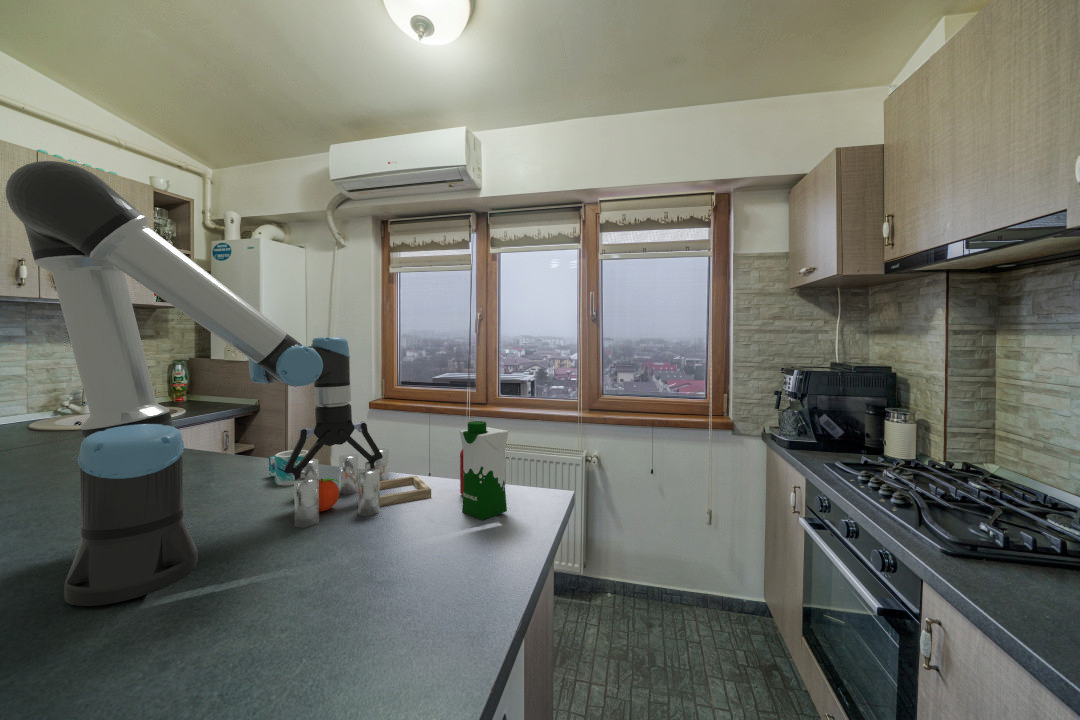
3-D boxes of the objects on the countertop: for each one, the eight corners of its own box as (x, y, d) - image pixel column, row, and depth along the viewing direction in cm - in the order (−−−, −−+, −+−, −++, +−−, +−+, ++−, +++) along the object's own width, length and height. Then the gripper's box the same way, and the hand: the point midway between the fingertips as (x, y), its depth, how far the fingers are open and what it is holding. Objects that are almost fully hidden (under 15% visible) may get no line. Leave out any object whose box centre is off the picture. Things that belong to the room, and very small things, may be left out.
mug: (287, 490, 109) (287, 457, 109) (258, 484, 114) (258, 453, 114) (316, 481, 116) (316, 451, 116) (288, 476, 122) (287, 446, 122)
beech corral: (431, 497, 104) (431, 489, 104) (373, 507, 97) (373, 498, 97) (416, 483, 115) (416, 475, 115) (364, 491, 108) (364, 483, 108)
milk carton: (456, 512, 94) (455, 421, 94) (487, 501, 101) (487, 417, 100) (481, 523, 88) (481, 426, 88) (513, 511, 95) (513, 421, 94)
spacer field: (409, 508, 97) (409, 468, 96) (295, 529, 85) (294, 484, 85) (386, 480, 118) (386, 447, 117) (292, 494, 106) (292, 458, 106)
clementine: (341, 502, 100) (341, 471, 100) (346, 511, 95) (346, 479, 95) (303, 508, 96) (302, 477, 96) (305, 518, 90) (305, 485, 90)
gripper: (386, 398, 108) (389, 481, 109) (269, 407, 95) (274, 501, 96) (392, 401, 102) (396, 489, 102) (268, 411, 89) (273, 512, 90)
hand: (337, 495), depth 99 cm, fingers open, 13 cm apart
